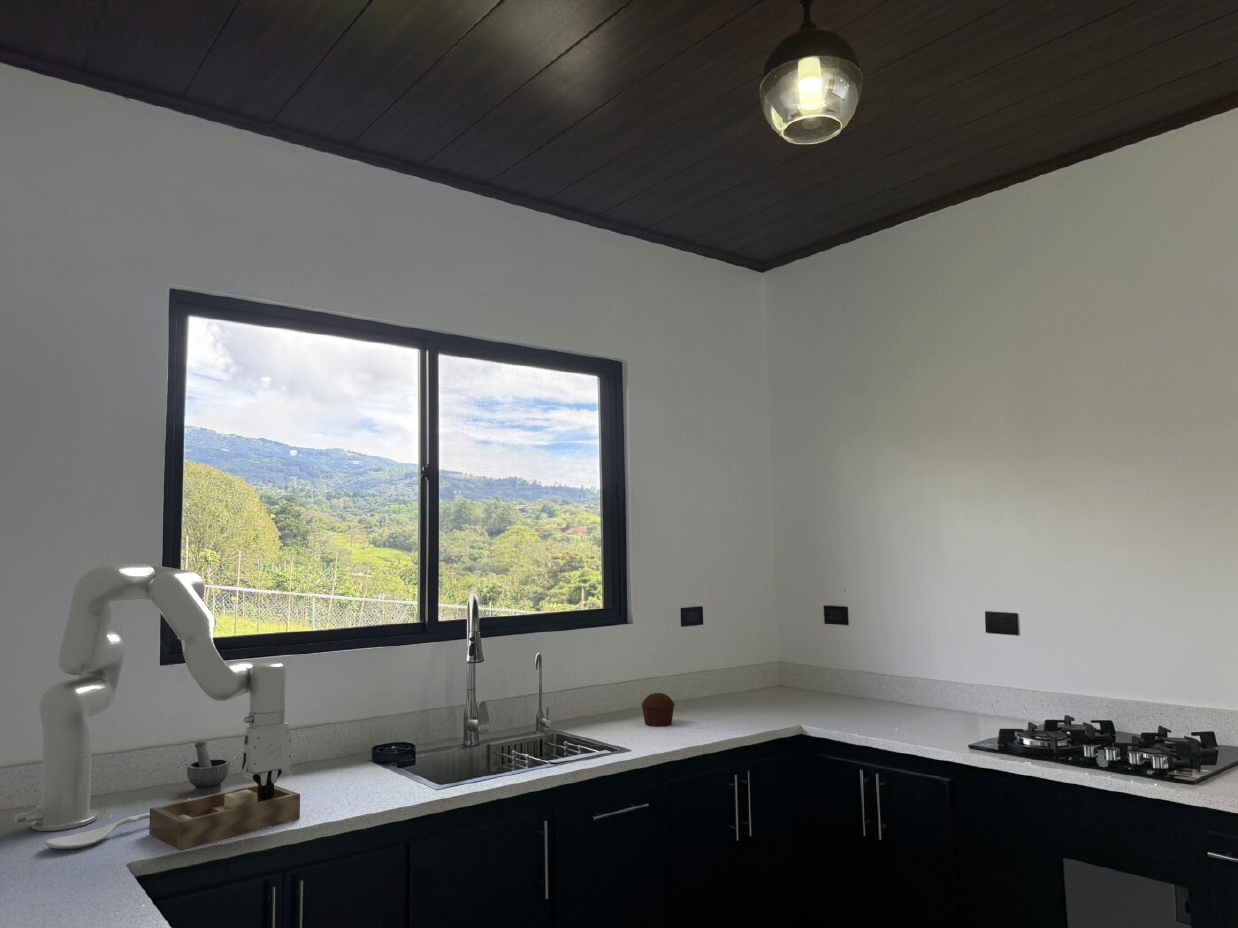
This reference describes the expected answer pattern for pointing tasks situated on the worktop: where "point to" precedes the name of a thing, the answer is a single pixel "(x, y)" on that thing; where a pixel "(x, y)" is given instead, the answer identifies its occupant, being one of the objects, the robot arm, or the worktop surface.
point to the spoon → (90, 835)
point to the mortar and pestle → (207, 771)
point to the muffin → (658, 710)
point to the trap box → (220, 817)
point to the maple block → (239, 799)
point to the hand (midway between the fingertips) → (265, 801)
